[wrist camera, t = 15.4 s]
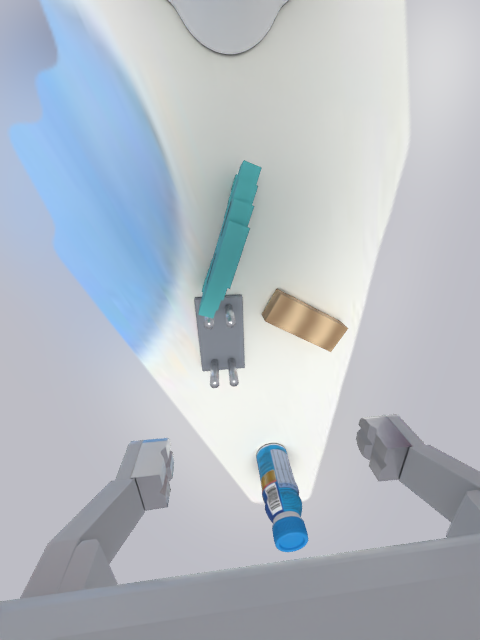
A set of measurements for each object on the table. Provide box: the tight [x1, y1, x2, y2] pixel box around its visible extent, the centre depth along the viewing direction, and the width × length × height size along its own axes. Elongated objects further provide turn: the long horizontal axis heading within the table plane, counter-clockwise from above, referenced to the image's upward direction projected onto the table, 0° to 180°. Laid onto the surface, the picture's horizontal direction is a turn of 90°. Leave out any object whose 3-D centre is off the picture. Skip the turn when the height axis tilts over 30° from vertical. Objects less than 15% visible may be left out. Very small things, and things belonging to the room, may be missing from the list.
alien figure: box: [198, 160, 261, 319], centre depth 36 cm, size 20×2×20 cm, turn 161°
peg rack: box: [195, 295, 245, 388], centre depth 48 cm, size 16×9×9 cm, turn 2°
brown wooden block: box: [262, 289, 348, 352], centre depth 51 cm, size 16×6×4 cm, turn 62°
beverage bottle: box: [257, 444, 308, 552], centre depth 58 cm, size 8×8×20 cm
